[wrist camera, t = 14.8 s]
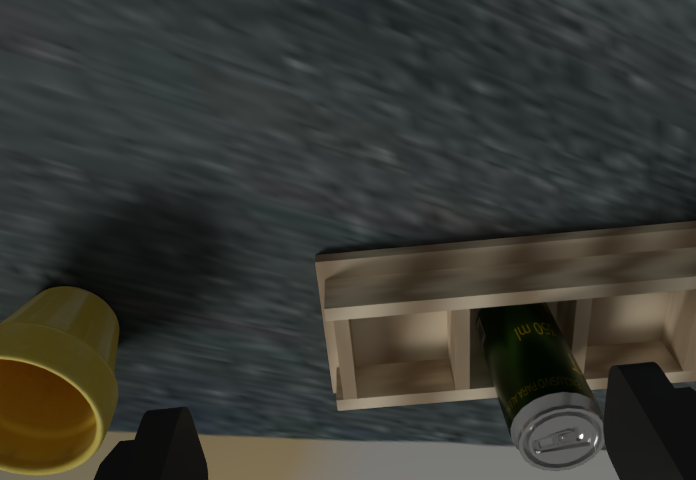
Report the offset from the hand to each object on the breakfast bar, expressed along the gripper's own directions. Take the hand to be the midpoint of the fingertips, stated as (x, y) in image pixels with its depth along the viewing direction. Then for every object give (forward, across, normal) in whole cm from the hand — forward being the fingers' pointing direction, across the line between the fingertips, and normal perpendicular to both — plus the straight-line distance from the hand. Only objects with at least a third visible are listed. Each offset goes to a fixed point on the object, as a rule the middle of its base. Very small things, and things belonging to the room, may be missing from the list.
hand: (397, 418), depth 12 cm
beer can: (+29, -9, +20) cm, 36 cm away
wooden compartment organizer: (+30, -9, +20) cm, 37 cm away
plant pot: (+30, +23, +17) cm, 41 cm away
